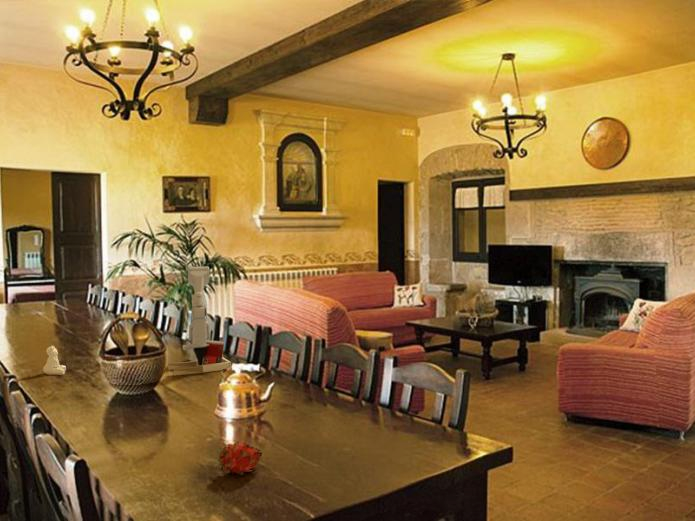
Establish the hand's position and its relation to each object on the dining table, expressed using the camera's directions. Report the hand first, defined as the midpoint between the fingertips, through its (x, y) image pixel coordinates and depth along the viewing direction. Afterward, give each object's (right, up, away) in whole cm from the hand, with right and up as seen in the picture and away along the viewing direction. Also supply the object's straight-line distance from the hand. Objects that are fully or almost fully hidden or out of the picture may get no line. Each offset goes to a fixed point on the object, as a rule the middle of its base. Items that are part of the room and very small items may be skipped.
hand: (200, 364), depth 263 cm
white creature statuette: (-61, -3, -6) cm, 62 cm away
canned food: (+4, -1, +2) cm, 5 cm away
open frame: (+5, -2, +3) cm, 6 cm away
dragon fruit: (+38, -8, -111) cm, 118 cm away
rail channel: (-6, -2, -3) cm, 7 cm away
